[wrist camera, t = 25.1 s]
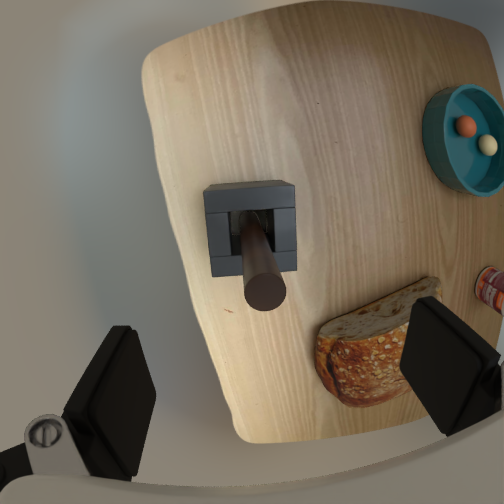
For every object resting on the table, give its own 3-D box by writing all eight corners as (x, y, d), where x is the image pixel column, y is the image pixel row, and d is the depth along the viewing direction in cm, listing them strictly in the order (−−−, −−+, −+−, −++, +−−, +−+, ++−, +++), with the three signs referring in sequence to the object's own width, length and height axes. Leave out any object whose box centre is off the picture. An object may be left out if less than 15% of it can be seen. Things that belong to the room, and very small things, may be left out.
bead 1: (449, 117, 31) (464, 112, 30) (455, 139, 32) (471, 132, 32) (460, 119, 28) (476, 113, 28) (467, 142, 30) (483, 135, 29)
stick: (238, 211, 34) (242, 276, 15) (257, 209, 34) (285, 270, 15) (240, 230, 35) (246, 313, 16) (259, 228, 35) (287, 309, 16)
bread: (432, 269, 38) (473, 297, 28) (428, 361, 43) (456, 395, 34) (302, 313, 39) (321, 358, 29) (321, 402, 44) (336, 447, 34)
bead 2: (478, 156, 32) (473, 134, 31) (484, 157, 33) (480, 137, 33) (496, 153, 29) (491, 131, 28) (501, 155, 30) (497, 134, 30)
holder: (210, 184, 33) (202, 191, 26) (281, 179, 33) (294, 185, 26) (216, 252, 36) (211, 277, 28) (284, 247, 36) (297, 270, 28)
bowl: (416, 80, 30) (437, 73, 25) (487, 99, 31) (508, 97, 26) (423, 190, 35) (445, 195, 30) (491, 193, 35) (512, 198, 30)
